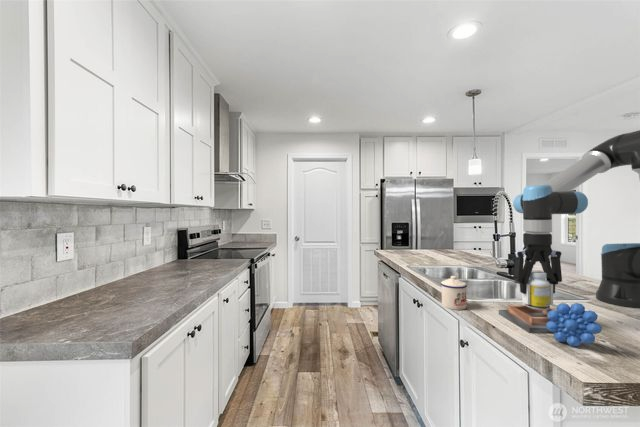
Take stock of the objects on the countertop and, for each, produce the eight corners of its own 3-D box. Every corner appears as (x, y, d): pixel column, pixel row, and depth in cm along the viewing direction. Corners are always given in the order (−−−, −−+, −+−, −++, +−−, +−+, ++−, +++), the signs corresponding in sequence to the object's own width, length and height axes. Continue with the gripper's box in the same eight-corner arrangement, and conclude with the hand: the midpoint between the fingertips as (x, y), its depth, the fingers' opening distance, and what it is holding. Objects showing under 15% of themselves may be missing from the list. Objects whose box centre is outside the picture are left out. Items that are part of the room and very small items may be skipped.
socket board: (544, 313, 103) (544, 303, 102) (584, 333, 87) (584, 320, 87) (498, 313, 103) (498, 303, 103) (529, 333, 87) (529, 320, 87)
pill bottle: (527, 303, 99) (527, 269, 99) (551, 307, 95) (551, 272, 95) (523, 307, 95) (523, 272, 95) (548, 312, 90) (548, 275, 90)
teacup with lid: (457, 312, 106) (457, 280, 105) (436, 305, 113) (435, 275, 113) (476, 306, 112) (476, 276, 112) (455, 300, 120) (454, 271, 119)
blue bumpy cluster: (605, 349, 76) (605, 304, 76) (599, 357, 72) (599, 309, 72) (551, 334, 86) (551, 294, 86) (543, 340, 82) (542, 298, 82)
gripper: (558, 231, 98) (559, 299, 98) (500, 232, 99) (500, 299, 99) (577, 233, 90) (578, 307, 91) (513, 234, 91) (514, 307, 91)
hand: (537, 303), depth 95 cm, fingers closed on pill bottle, 6 cm apart
